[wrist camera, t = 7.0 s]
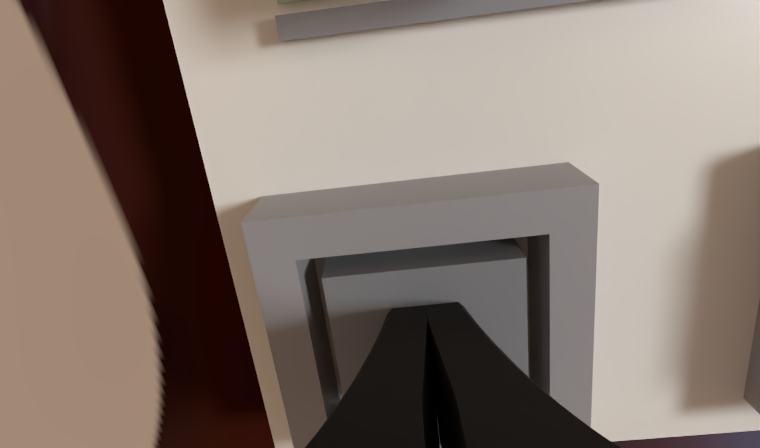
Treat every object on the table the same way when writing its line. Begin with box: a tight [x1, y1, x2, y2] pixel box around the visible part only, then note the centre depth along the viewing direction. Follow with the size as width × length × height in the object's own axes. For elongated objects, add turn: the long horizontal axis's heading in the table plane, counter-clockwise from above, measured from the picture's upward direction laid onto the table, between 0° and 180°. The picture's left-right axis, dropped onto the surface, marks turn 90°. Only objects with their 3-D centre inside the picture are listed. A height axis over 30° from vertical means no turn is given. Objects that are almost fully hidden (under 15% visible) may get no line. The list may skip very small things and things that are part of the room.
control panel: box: [163, 0, 760, 448], centre depth 10 cm, size 16×18×4 cm
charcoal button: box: [322, 238, 529, 422], centre depth 10 cm, size 4×4×2 cm
